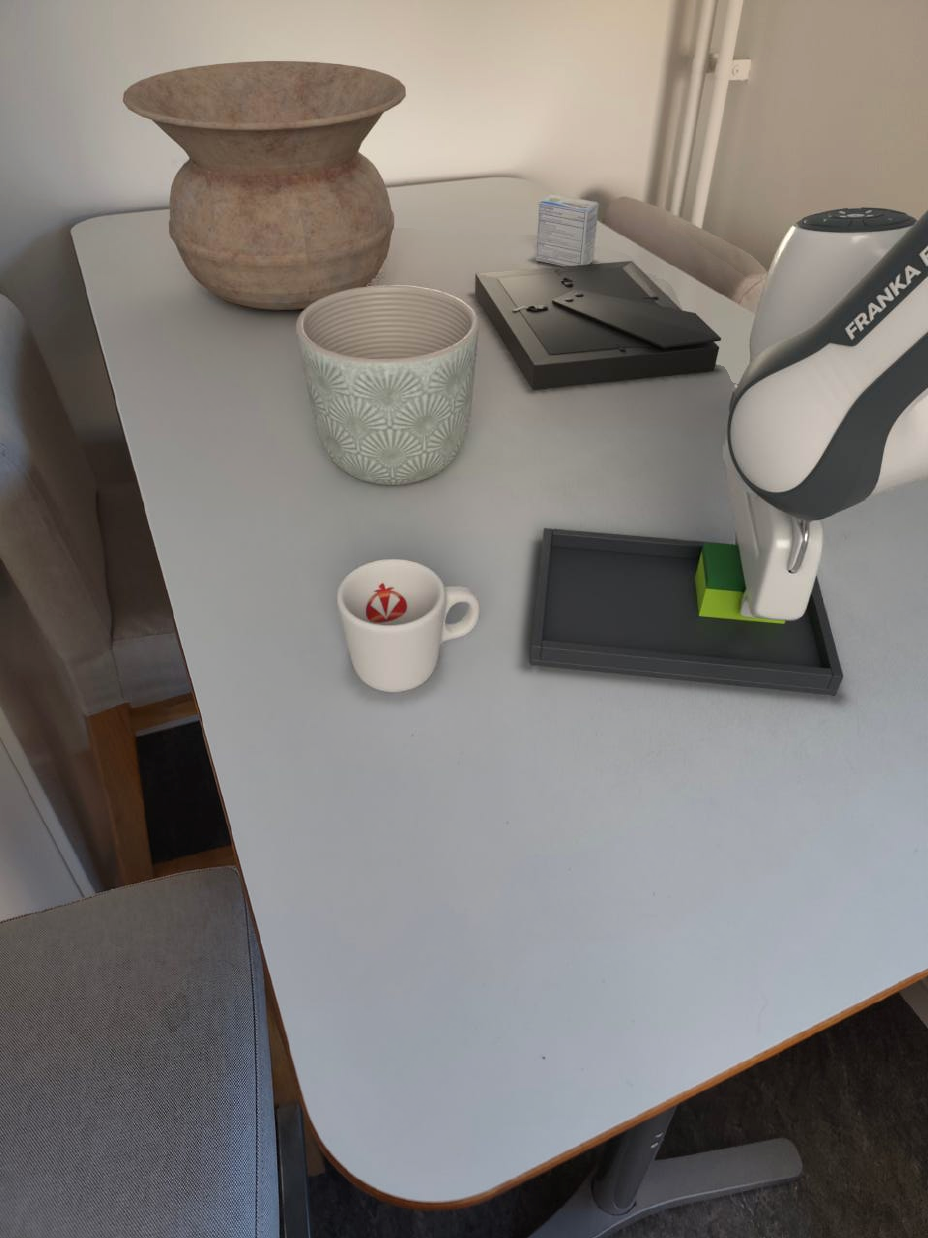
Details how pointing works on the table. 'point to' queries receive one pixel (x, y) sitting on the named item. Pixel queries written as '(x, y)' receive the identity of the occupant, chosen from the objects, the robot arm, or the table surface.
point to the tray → (665, 619)
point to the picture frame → (593, 325)
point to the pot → (274, 176)
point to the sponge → (721, 583)
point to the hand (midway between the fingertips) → (745, 586)
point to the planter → (390, 379)
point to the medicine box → (566, 231)
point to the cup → (399, 621)
